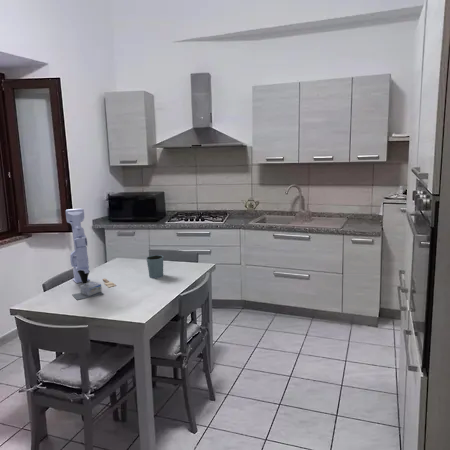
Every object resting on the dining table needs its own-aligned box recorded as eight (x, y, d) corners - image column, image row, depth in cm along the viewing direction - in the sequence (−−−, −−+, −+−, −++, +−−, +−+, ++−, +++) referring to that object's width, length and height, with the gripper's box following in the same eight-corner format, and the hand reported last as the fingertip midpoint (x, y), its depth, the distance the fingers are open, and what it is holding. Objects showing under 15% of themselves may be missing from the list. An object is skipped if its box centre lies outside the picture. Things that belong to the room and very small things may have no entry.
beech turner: (100, 281, 240) (100, 279, 240) (107, 279, 243) (107, 277, 243) (108, 287, 228) (108, 286, 228) (116, 286, 231) (116, 284, 230)
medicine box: (80, 293, 219) (89, 296, 214) (79, 285, 218) (88, 288, 213) (92, 289, 225) (102, 291, 220) (91, 281, 224) (101, 284, 219)
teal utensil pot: (166, 273, 251) (165, 255, 249) (162, 278, 241) (160, 259, 239) (150, 273, 252) (149, 255, 250) (145, 278, 242) (144, 259, 240)
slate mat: (72, 295, 218) (72, 294, 218) (98, 289, 225) (98, 288, 225) (77, 300, 210) (77, 299, 210) (103, 294, 217) (103, 293, 217)
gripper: (71, 257, 222) (73, 281, 224) (78, 263, 210) (80, 287, 212) (84, 255, 225) (86, 278, 228) (91, 260, 214) (94, 285, 216)
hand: (84, 283), depth 220 cm, fingers closed
